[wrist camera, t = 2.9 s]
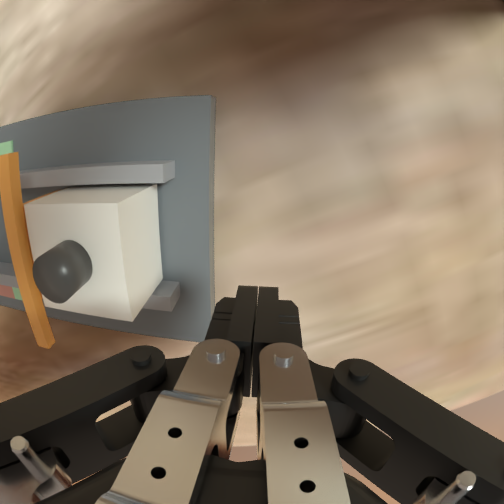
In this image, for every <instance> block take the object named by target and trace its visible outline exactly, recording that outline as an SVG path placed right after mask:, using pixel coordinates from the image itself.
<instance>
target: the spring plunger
mask: <svg viewBox="0 0 504 504" xmlns="http://www.w3.org/2000/svg"><path fill="white" fill-rule="evenodd" d="M24 209H25V216H26V223H27V229H28V235H29V240H30V246H31V251H32V256H33V261H34V264H33V278H34V281H35V284H36V286H37V288H38V289H39V291H40V292H41V294H42V297H43V301H44V304H45V306H46V307H51V308H55V309H60V310H66V311H71V312H76V313H82V314H87V315H93V316H99V317H105V318H111V319H117V320H123V321H130V322H133V321H134V319H135V318H136V316H137V315H138V313H139V312H140V310H141V309H142V307H143V306H144V305H145V303H146V302H147V300H148V299H149V297H150V296H151V295H152V293H153V292H154V290H155V289H156V287H157V286H158V285H159V283H160V282H161V280H162V279H163V274H162V262H161V249H160V235H159V217H158V193H157V183H154V184H97V185H74V186H71V187H68V188H66V189H63V190H60V191H57V192H55V193H52V194H49V195H47V196H44V197H42V198H39V199H37V200H34V201H32V202H29V203H27V204H24Z"/></svg>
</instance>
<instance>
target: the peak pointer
mask: <svg viewBox="0 0 504 504" xmlns="http://www.w3.org/2000/svg"><path fill="white" fill-rule="evenodd" d="M57 191H60V190H56V191H53V192H51V193H48V194H45V195H43V196H40V197H38V198H35V199H32V200H30V201H27V202H25V203H23V201H22V193H21V183H20V171H19V154H18V152H13V153H8V154H4V155H0V194H1V202H2V210H3V216H4V223H5V228H6V234H7V239H8V244H9V249H10V254H11V258H12V263H13V267H14V271H15V275H16V279H17V283H18V286H19V290H20V293H21V297H22V300H23V303H24V307H25V310H26V313H27V316H28V319H29V322H30V325H31V328H32V331H33V333H34V336H35V339H36V341H37V344H38V346H40V347H43V348H47V349H50V348H51V347H52V345H53V344H54V343H55V339H54V336H53V333H52V330H51V327H50V324H49V321H48V318H47V315H46V311H45V308H44V304H43V301H42V299H43V297H42V294H41V292H40V291H39V289H38V288H37V286H36V284H35V281H34V278H33V264H34V261H33V256H32V251H31V246H30V240H29V235H28V229H27V223H26V216H25V209H24V204H27V203H29V202H32V201H34V200H37V199H39V198H42V197H44V196H47V195H49V194H52V193H55V192H57Z"/></svg>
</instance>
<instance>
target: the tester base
mask: <svg viewBox="0 0 504 504" xmlns="http://www.w3.org/2000/svg"><path fill="white" fill-rule="evenodd" d="M215 114H216V98H215V97H213V96H212V95H199V96H178V97H163V98H151V99H141V100H131V101H123V102H115V103H108V104H101V105H95V106H89V107H83V108H77V109H72V110H67V111H62V112H57V113H53V114H48V115H44V116H40V117H35V118H31V119H27V120H24V121H20V122H16V123H13V124H9V125H6V126H2V127H0V155H4V154H8V153H13V152H18V154H19V171H20V183H21V193H22V201H23V203H25V202H27V201H30V200H32V199H35V198H38V197H40V196H43V195H45V194H48V193H51V192H53V191H56V190H63V189H66V188H68V187H71V186H74V185H97V184H154V183H157V193H158V217H159V235H160V249H161V262H162V274H163V279H162V280H161V282H160V283H159V285H158V286H157V287H156V289H155V290H154V292H153V293H152V295H151V296H150V297H149V299H148V300H147V302H146V303H145V305H144V306H143V307H142V309H141V310H140V312H139V313H138V315H137V316H136V318H135V319H134V321H133V322H130V321H123V320H117V319H111V318H105V317H99V316H93V315H87V314H82V313H76V312H71V311H66V310H60V309H55V308H51V307H46V306H45V304H44V301H43V299H42V301H43V304H44V308H45V311H46V315H47V317H50V318H55V319H59V320H64V321H69V322H73V323H78V324H83V325H88V326H94V327H99V328H105V329H110V330H116V331H122V332H128V333H134V334H141V335H148V336H155V337H162V338H169V339H177V340H186V341H194V342H202V341H204V340H205V337H206V334H207V330H208V327H209V324H210V321H211V320H212V315H213V313H214V309H215V287H214V154H215ZM0 305H2V306H6V307H10V308H14V309H17V310H21V311H25V312H26V310H25V307H24V303H23V300H22V297H21V293H20V290H19V286H18V283H17V279H16V275H15V271H14V267H13V263H12V258H11V254H10V249H9V244H8V239H7V234H6V228H5V223H4V216H3V210H2V202H1V194H0Z"/></svg>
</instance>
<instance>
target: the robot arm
mask: <svg viewBox="0 0 504 504" xmlns="http://www.w3.org/2000/svg"><path fill="white" fill-rule="evenodd" d="M503 1H504V0H503ZM257 296H258V304H257ZM252 368H253V374H252ZM251 378H252V397H257V410H256V431H257V460H254V461H246V462H234V461H230V460H229V458H230V453H231V449H232V445H233V441H234V437H235V433H236V428H237V424H238V420H239V416H240V408H241V406H242V399H243V396H244V397H250V388H251ZM129 400H130V401H131V404H132V405H130V406H128V407H127V408H125V409H123V410H121V411H119V412H117V413H115V414H113V415H111V416H109V417H107V418H105V419H103V420H101V421H98V422H96V419H97V418H98V417H99V416H100V415H101V414H103V413H105V412H107V411H109V410H111V409H113V408H115V407H117V406H119V405H121V404H123V403H125V402H127V401H129ZM366 419H367V420H368V421H370V422H371V423H372V424H374V425H375V426H377V427H378V428H379V429H381V430H382V431H384V432H385V433H386V434H388V435H389V436H390V437H391V438H392V439H393V440H392V439H391V438H389V437H388V436H387V435H385V434H384V433H382V432H381V431H380V430H378V429H377V428H375V427H374V426H373V425H371V424H370V423H369V422H367V421H366ZM126 456H127V458H125V457H126ZM340 457H341V458H342V459H343V460H344V461H346V462H347V463H348V464H349V465H351V466H352V467H353V468H354V469H356V470H357V471H358V472H359V473H361V474H362V475H364V476H365V477H366V478H367V479H368V480H370V481H371V482H372V483H373V484H375V485H376V486H377V487H379V488H380V489H381V490H383V491H384V492H386V493H387V494H388V495H390V496H391V497H392V498H394V499H395V500H397V501H398V502H399V503H401V504H504V442H502V441H501V440H499V439H497V438H495V437H494V436H492V435H490V434H488V433H487V432H485V431H483V430H481V429H480V428H478V427H476V426H474V425H473V424H471V423H470V422H468V421H466V420H464V419H463V418H461V417H459V416H458V415H456V414H454V413H453V412H451V411H449V410H448V409H446V408H444V407H443V406H441V405H439V404H438V403H436V402H434V401H433V400H431V399H429V398H428V397H426V396H424V395H423V394H421V393H419V392H418V391H416V390H415V389H413V388H411V387H410V386H408V385H406V384H405V383H403V382H402V381H400V380H398V379H397V378H395V377H394V376H392V375H390V374H389V373H387V372H386V371H384V370H382V369H381V368H379V367H378V366H376V365H374V364H373V363H371V362H369V361H366V360H363V359H347V360H344V361H342V362H340V363H339V364H338V365H337V366H336V367H335V369H334V368H329V367H325V366H321V365H318V364H316V363H314V362H312V361H311V360H309V359H308V357H307V354H306V352H305V351H304V350H303V347H302V338H301V329H300V321H299V312H298V307H297V306H296V305H295V304H294V303H293V302H292V301H289V300H278V287H260V286H259V294H258V286H240V285H239V286H238V290H237V294H236V298H228V297H224V298H223V299H221V300H220V301H219V302H218V303H217V304H216V306H215V309H214V313H213V315H212V320H211V321H210V324H209V327H208V330H207V334H206V337H205V340H204V341H202V342H200V343H198V344H197V345H196V346H195V347H194V348H193V350H192V352H191V354H190V355H189V356H186V357H181V358H172V359H165V356H164V354H163V352H162V351H161V350H159V349H158V348H156V347H153V346H145V345H144V346H136V347H132V348H130V349H128V350H125V351H123V352H121V353H119V354H116V355H114V356H112V357H110V358H107V359H105V360H103V361H101V362H98V363H96V364H94V365H91V366H89V367H87V368H84V369H82V370H80V371H78V372H75V373H73V374H70V375H68V376H66V377H63V378H61V379H59V380H56V381H54V382H52V383H49V384H47V385H44V386H42V387H39V388H37V389H35V390H32V391H30V392H27V393H25V394H22V395H20V396H17V397H15V398H12V399H10V400H7V401H5V402H2V403H0V504H387V503H386V502H385V501H384V500H382V499H381V498H380V497H379V496H378V495H376V494H375V493H374V492H373V491H371V490H370V489H369V488H368V487H366V485H364V484H363V483H362V482H360V481H358V480H357V479H356V478H354V477H352V476H350V475H348V474H346V473H344V472H343V468H342V464H341V460H340ZM123 458H124V459H123ZM98 471H99V472H98ZM96 472H97V473H96ZM94 473H95V474H94ZM92 474H93V475H92ZM90 475H91V476H90ZM88 476H89V477H88ZM86 477H88V478H86ZM84 478H86V479H84ZM81 479H84V480H82V481H80V482H78V483H76V484H74V485H72V484H73V483H75V482H77V481H79V480H81Z"/></svg>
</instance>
